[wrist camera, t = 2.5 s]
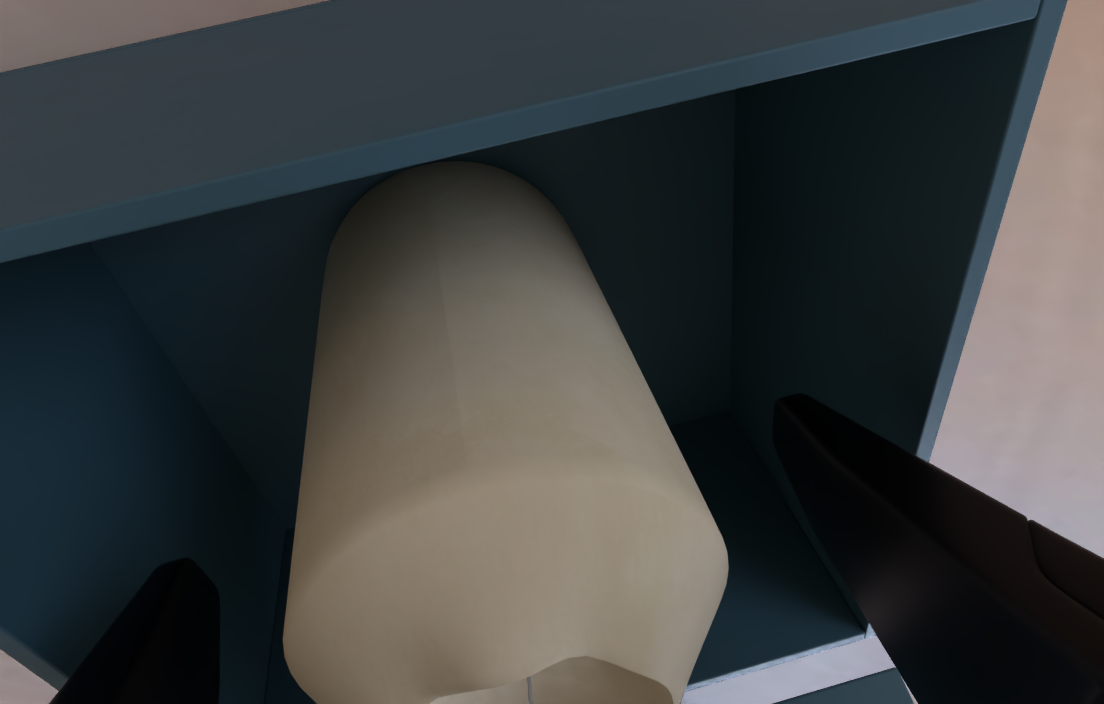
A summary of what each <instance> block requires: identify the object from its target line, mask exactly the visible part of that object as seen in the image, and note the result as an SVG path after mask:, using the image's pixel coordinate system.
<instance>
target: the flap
mask: <svg viewBox="0 0 1104 704" xmlns="http://www.w3.org/2000/svg"><path fill="white" fill-rule="evenodd" d="M773 704H914V703H913V701H912V698H911V696H910V694H909V692H908V690H907V688H906V686H905V684H904V682H903V680H902V677H901V675H900V673H899V671H898V670H897V668H891V669H887V670H884V671H881V672H877V673H874V674H871V675H867V676H864V677H861V678H857V679H854V680H850V681H847V682H844V683H840V684H837V685H834V686H830V687H827V688H824V689H820V690H817V691H813V692H810V693H807V694H803V695H800V696H797V697H793V698H790V699H787V700H783V701H780V702H776V703H773Z"/></svg>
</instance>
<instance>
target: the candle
mask: <svg viewBox="0 0 1104 704" xmlns="http://www.w3.org/2000/svg"><path fill="white" fill-rule="evenodd" d="M728 570H729V566H728V553H727V550H726V546H725V543H724V540H723V537H722V535H721V533H720V531H719V529H718V527H717V525H716V523H715V521H714V519H713V517H712V515H711V512H710V510H709V508H708V506H707V504H706V502H705V500H704V498H703V496H702V494H701V492H700V490H699V488H698V486H697V484H696V482H695V480H694V478H693V476H692V474H691V472H690V470H689V468H688V466H687V464H686V462H685V460H684V458H683V456H682V454H681V451H680V449H679V447H678V445H677V443H676V441H675V439H674V437H673V435H672V433H671V431H670V429H669V427H668V425H667V423H666V421H665V419H664V417H663V415H662V413H661V411H660V409H659V407H658V405H657V403H656V401H655V399H654V397H653V395H652V393H651V391H650V389H649V387H648V384H647V382H646V380H645V378H644V376H643V374H642V372H641V370H640V368H639V366H638V364H637V362H636V360H635V358H634V356H633V354H632V352H631V350H630V348H629V346H628V344H627V342H626V340H625V338H624V336H623V334H622V332H621V330H620V328H619V326H618V324H617V322H616V319H615V317H614V315H613V313H612V311H611V309H610V307H609V305H608V303H607V301H606V299H605V297H604V295H603V293H602V291H601V289H600V287H599V285H598V283H597V281H596V279H595V277H594V275H593V273H592V271H591V269H590V267H589V265H588V263H587V261H586V259H585V257H584V255H583V252H582V250H581V248H580V246H579V245H578V243H577V241H576V239H575V237H574V235H573V234H572V232H571V230H570V228H569V226H568V225H567V223H566V221H565V219H564V218H563V216H562V215H561V213H560V212H559V211H558V210H557V208H556V207H555V206H554V205H553V204H552V203H551V202H550V201H549V200H548V199H547V198H546V197H545V196H544V195H543V194H542V193H541V192H540V191H539V190H538V189H536V188H535V187H534V186H532V185H531V184H529V183H528V182H527V181H525V180H524V179H522V178H520V177H518V176H516V175H514V174H512V173H510V172H508V171H505V170H502V169H499V168H497V167H494V166H490V165H485V164H481V163H475V162H464V161H446V162H436V163H430V164H424V165H420V166H417V167H414V168H410V169H407V170H404V171H402V172H400V173H398V174H395V175H393V176H391V177H389V178H387V179H386V180H384V181H382V182H381V183H379V184H378V185H376V186H375V187H373V188H372V189H371V190H370V191H368V192H367V193H366V194H365V195H363V196H362V197H361V198H360V199H359V201H358V202H357V203H356V204H355V205H354V206H353V207H352V208H351V209H350V211H349V212H348V214H347V215H346V217H345V218H344V219H343V221H342V223H341V224H340V226H339V228H338V230H337V233H336V235H335V237H334V239H333V241H332V243H331V246H330V250H329V253H328V256H327V262H326V268H325V274H324V281H323V288H322V296H321V305H320V314H319V323H318V332H317V340H316V349H315V358H314V367H313V376H312V384H311V393H310V402H309V411H308V420H307V429H306V437H305V446H304V455H303V464H302V473H301V481H300V490H299V499H298V508H297V517H296V525H295V534H294V543H293V552H292V561H291V570H290V579H289V587H288V596H287V605H286V614H285V623H284V633H283V647H284V657H285V660H286V662H287V665H288V668H289V670H290V673H291V674H292V676H293V677H294V679H295V680H296V682H297V683H298V685H299V686H300V688H301V689H302V690H303V691H304V692H306V693H307V694H308V695H309V696H310V697H311V698H312V699H313V700H314V701H315V702H316V703H317V704H681V700H682V697H683V694H684V692H685V689H686V686H687V684H688V681H689V678H690V676H691V673H692V670H693V668H694V665H695V663H696V660H697V658H698V655H699V653H700V650H701V648H702V645H703V643H704V641H705V638H706V636H707V633H708V631H709V628H710V626H711V624H712V621H713V619H714V616H715V614H716V611H717V609H718V607H719V604H720V601H721V599H722V596H723V593H724V590H725V587H726V584H727V577H728Z"/></svg>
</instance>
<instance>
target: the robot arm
mask: <svg viewBox="0 0 1104 704" xmlns="http://www.w3.org/2000/svg"><path fill="white" fill-rule="evenodd" d="M772 439H773V444H774V447H775V449H776V452H777V454H778V456H779V458H780V460H781V463H782V465H783V467H784V469H785V471H786V473H787V475H788V478H789V480H790V482H791V484H792V486H793V488H794V491H795V493H796V495H797V497H798V499H799V501H800V503H801V506H802V508H803V510H804V512H805V514H806V516H807V519H808V521H809V523H810V525H811V527H812V529H813V531H814V533H815V535H816V536H817V538H818V540H819V542H820V543H821V545H822V547H823V549H824V550H825V552H826V553H827V555H828V557H829V558H830V560H831V562H832V563H833V565H834V567H835V568H836V570H837V571H838V573H839V575H840V576H841V578H842V580H843V581H844V583H845V585H846V586H847V588H848V589H849V591H850V593H851V594H852V596H853V598H854V599H855V601H856V603H857V604H858V606H859V607H860V609H861V611H862V612H863V614H864V616H865V617H866V619H867V621H868V622H869V624H870V625H871V627H872V629H873V630H874V632H875V634H876V635H877V637H878V639H879V640H880V642H881V643H882V645H883V647H884V648H885V650H886V652H887V653H888V655H889V657H890V658H891V660H892V661H893V663H894V665H895V666H896V668H897V670H898V671H899V673H900V675H901V676H902V678H903V679H904V681H905V683H906V684H907V686H908V688H909V689H910V691H911V693H912V694H913V696H914V697H915V699H916V701H917V702H918V704H1104V558H1102V557H1100V556H1098V555H1096V554H1094V553H1093V552H1091V551H1089V550H1087V549H1085V548H1083V547H1081V546H1079V545H1077V544H1076V543H1074V542H1072V541H1070V540H1068V539H1066V538H1064V537H1062V536H1060V535H1059V534H1057V533H1055V532H1053V531H1051V530H1050V529H1048V528H1046V527H1044V526H1042V525H1041V524H1039V523H1037V522H1035V521H1033V520H1028V521H1027V518H1026V517H1025V516H1024V515H1022V514H1020V513H1019V512H1017V511H1015V510H1013V509H1011V508H1010V507H1008V506H1006V505H1004V504H1002V503H1001V502H999V501H997V500H995V499H993V498H992V497H990V496H988V495H986V494H984V493H983V492H981V491H979V490H977V489H975V488H974V487H972V486H970V485H968V484H966V483H965V482H963V481H961V480H959V479H957V478H956V477H954V476H952V475H950V474H948V473H947V472H945V471H943V470H941V469H939V468H938V467H936V466H934V465H932V464H930V463H929V462H927V461H925V460H923V459H921V458H920V457H918V456H916V455H914V454H912V453H911V452H909V451H907V450H905V449H903V448H902V447H900V446H898V445H896V444H894V443H893V442H891V441H889V440H887V439H885V438H884V437H882V436H880V435H878V434H876V433H875V432H873V431H871V430H869V429H867V428H866V427H864V426H862V425H860V424H858V423H857V422H855V421H853V420H851V419H849V418H848V417H846V416H844V415H842V414H840V413H839V412H837V411H835V410H833V409H831V408H830V407H828V406H826V405H824V404H822V403H821V402H819V401H817V400H815V399H813V398H812V397H810V396H808V395H806V394H803V393H796V394H792V395H789V396H785V397H781V398H779V399H777V400H776V402H775V405H774V415H773V429H772ZM219 691H220V595H219V592H218V589H217V587H216V585H215V584H214V583H213V582H212V581H211V579H210V578H209V577H208V576H207V575H206V574H205V573H204V571H203V570H202V569H201V568H200V567H199V566H198V564H197V563H196V562H195V561H194V560H193V559H190V558H188V557H186V558H181V559H177V560H173V561H169V562H166V563H163V564H161V565H159V566H158V567H157V568H156V569H155V570H154V571H153V572H152V573H151V575H150V576H149V577H148V578H147V580H146V581H145V582H144V583H143V585H142V586H141V587H140V589H139V590H138V591H137V592H136V594H135V595H134V596H133V597H132V599H131V600H130V601H129V603H128V604H127V605H126V606H125V608H124V609H123V610H122V611H121V613H120V614H119V615H118V617H117V618H116V619H115V620H114V622H113V623H112V624H111V625H110V627H109V628H108V629H107V631H106V632H105V633H104V634H103V636H102V637H101V638H100V639H99V641H98V642H97V643H96V645H95V646H94V647H93V648H92V650H91V651H90V652H89V653H88V655H87V656H86V657H85V659H84V660H83V661H82V662H81V664H80V665H79V666H78V667H77V669H76V670H75V671H74V673H73V674H72V675H71V676H70V678H69V679H68V680H67V681H66V683H65V684H64V685H63V687H62V688H61V689H60V690H59V692H58V693H57V694H56V695H55V697H54V698H53V699H52V701H51V702H50V703H49V704H219Z"/></svg>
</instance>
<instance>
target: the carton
mask: <svg viewBox="0 0 1104 704" xmlns="http://www.w3.org/2000/svg"><path fill="white" fill-rule="evenodd" d="M1066 3H1067V0H330V1H325V2H320V3H316V4H311V5H307V6H302V7H298V8H293V9H289V10H284V11H279V12H275V13H270V14H266V15H261V16H257V17H252V18H248V19H243V20H238V21H234V22H229V23H225V24H220V25H216V26H211V27H207V28H202V29H197V30H193V31H188V32H184V33H179V34H175V35H170V36H166V37H161V38H156V39H152V40H147V41H143V42H138V43H134V44H129V45H125V46H120V47H115V48H111V49H106V50H102V51H97V52H93V53H88V54H84V55H79V56H74V57H70V58H65V59H61V60H56V61H52V62H47V63H43V64H38V65H33V66H29V67H24V68H20V69H15V70H11V71H6V72H2V73H0V649H1V650H3V651H4V652H5V653H7V654H8V655H10V656H11V657H12V658H14V659H15V660H17V661H18V662H19V663H21V664H22V665H24V666H25V667H26V668H28V669H29V670H30V671H32V672H33V673H35V674H36V675H37V676H39V677H40V678H42V679H43V680H44V681H46V682H47V683H49V684H50V685H51V686H53V687H54V688H56V689H57V690H58V691H59V690H60V689H61V688H62V687H63V685H64V684H65V683H66V681H67V680H68V679H69V678H70V676H71V675H72V674H73V673H74V671H75V670H76V669H77V667H78V666H79V665H80V664H81V662H82V661H83V660H84V659H85V657H86V656H87V655H88V653H89V652H90V651H91V650H92V648H93V647H94V646H95V645H96V643H97V642H98V641H99V639H100V638H101V637H102V636H103V634H104V633H105V632H106V631H107V629H108V628H109V627H110V625H111V624H112V623H113V622H114V620H115V619H116V618H117V617H118V615H119V614H120V613H121V611H122V610H123V609H124V608H125V606H126V605H127V604H128V603H129V601H130V600H131V599H132V597H133V596H134V595H135V594H136V592H137V591H138V590H139V589H140V587H141V586H142V585H143V583H144V582H145V581H146V580H147V578H148V577H149V576H150V575H151V573H152V572H153V571H154V570H155V569H156V568H157V567H158V566H159V565H161V564H163V563H166V562H169V561H173V560H177V559H181V558H186V557H188V558H190V559H193V560H194V561H195V562H196V563H197V564H198V566H199V567H200V568H201V569H202V570H203V571H204V573H205V574H206V575H207V576H208V577H209V578H210V579H211V581H212V582H213V583H214V584H215V585H216V587H217V589H218V592H219V595H220V691H219V704H317V703H316V702H315V701H314V700H313V699H312V698H311V697H310V696H309V695H308V694H307V693H306V692H304V691H303V690H302V689H301V688H300V686H299V685H298V683H297V682H296V680H295V679H294V677H293V676H292V674H291V673H290V670H289V668H288V665H287V662H286V660H285V657H284V647H283V633H284V623H285V614H286V605H287V596H288V587H289V579H290V570H291V561H292V552H293V543H294V534H295V525H296V517H297V508H298V499H299V490H300V481H301V473H302V464H303V455H304V446H305V437H306V429H307V420H308V411H309V402H310V393H311V384H312V376H313V367H314V358H315V349H316V340H317V332H318V323H319V314H320V305H321V296H322V288H323V281H324V274H325V268H326V262H327V256H328V253H329V250H330V246H331V243H332V241H333V239H334V237H335V235H336V233H337V230H338V228H339V226H340V224H341V223H342V221H343V219H344V218H345V217H346V215H347V214H348V212H349V211H350V209H351V208H352V207H353V206H354V205H355V204H356V203H357V202H358V201H359V199H360V198H361V197H362V196H363V195H365V194H366V193H367V192H368V191H370V190H371V189H372V188H373V187H375V186H376V185H378V184H379V183H381V182H382V181H384V180H386V179H387V178H389V177H391V176H393V175H395V174H398V173H400V172H402V171H404V170H407V169H410V168H414V167H417V166H420V165H424V164H430V163H436V162H446V161H464V162H475V163H481V164H485V165H490V166H494V167H497V168H499V169H502V170H505V171H508V172H510V173H512V174H514V175H516V176H518V177H520V178H522V179H524V180H525V181H527V182H528V183H529V184H531V185H532V186H534V187H535V188H536V189H538V190H539V191H540V192H541V193H542V194H543V195H544V196H545V197H546V198H547V199H548V200H549V201H550V202H551V203H552V204H553V205H554V206H555V207H556V208H557V210H558V211H559V212H560V213H561V215H562V216H563V218H564V219H565V221H566V223H567V225H568V226H569V228H570V230H571V232H572V234H573V235H574V237H575V239H576V241H577V243H578V245H579V246H580V248H581V250H582V252H583V255H584V257H585V259H586V261H587V263H588V265H589V267H590V269H591V271H592V273H593V275H594V277H595V279H596V281H597V283H598V285H599V287H600V289H601V291H602V293H603V295H604V297H605V299H606V301H607V303H608V305H609V307H610V309H611V311H612V313H613V315H614V317H615V319H616V322H617V324H618V326H619V328H620V330H621V332H622V334H623V336H624V338H625V340H626V342H627V344H628V346H629V348H630V350H631V352H632V354H633V356H634V358H635V360H636V362H637V364H638V366H639V368H640V370H641V372H642V374H643V376H644V378H645V380H646V382H647V384H648V387H649V389H650V391H651V393H652V395H653V397H654V399H655V401H656V403H657V405H658V407H659V409H660V411H661V413H662V415H663V417H664V419H665V421H666V423H667V425H668V427H669V429H670V431H671V433H672V435H673V437H674V439H675V441H676V443H677V445H678V447H679V449H680V451H681V454H682V456H683V458H684V460H685V462H686V464H687V466H688V468H689V470H690V472H691V474H692V476H693V478H694V480H695V482H696V484H697V486H698V488H699V490H700V492H701V494H702V496H703V498H704V500H705V502H706V504H707V506H708V508H709V510H710V512H711V515H712V517H713V519H714V521H715V523H716V525H717V527H718V529H719V531H720V533H721V535H722V537H723V540H724V543H725V546H726V550H727V553H728V566H729V570H728V577H727V584H726V587H725V590H724V593H723V596H722V599H721V601H720V604H719V607H718V609H717V611H716V614H715V616H714V619H713V621H712V624H711V626H710V628H709V631H708V633H707V636H706V638H705V641H704V643H703V645H702V648H701V650H700V653H699V655H698V658H697V660H696V663H695V665H694V668H693V670H692V673H691V676H690V678H689V681H688V684H687V686H686V689H685V692H686V691H689V690H693V689H696V688H699V687H703V686H706V685H710V684H713V683H717V682H720V681H723V680H727V679H730V678H734V677H737V676H740V675H744V674H747V673H751V672H754V671H757V670H761V669H764V668H768V667H771V666H774V665H778V664H781V663H785V662H788V661H791V660H795V659H798V658H802V657H805V656H808V655H812V654H815V653H819V652H822V651H826V650H829V649H832V648H836V647H839V646H843V645H846V644H849V643H853V642H856V641H860V640H863V639H866V638H870V637H873V636H876V634H875V632H874V630H873V629H872V627H871V625H870V624H869V622H868V621H867V619H866V617H865V616H864V614H863V612H862V611H861V609H860V607H859V606H858V604H857V603H856V601H855V599H854V598H853V596H852V594H851V593H850V591H849V589H848V588H847V586H846V585H845V583H844V581H843V580H842V578H841V576H840V575H839V573H838V571H837V570H836V568H835V567H834V565H833V563H832V562H831V560H830V558H829V557H828V555H827V553H826V552H825V550H824V549H823V547H822V545H821V543H820V542H819V540H818V538H817V536H816V535H815V533H814V531H813V529H812V527H811V525H810V523H809V521H808V519H807V516H806V514H805V512H804V510H803V508H802V506H801V503H800V501H799V499H798V497H797V495H796V493H795V491H794V488H793V486H792V484H791V482H790V480H789V478H788V475H787V473H786V471H785V469H784V467H783V465H782V463H781V460H780V458H779V456H778V454H777V452H776V449H775V447H774V444H773V439H772V429H773V415H774V405H775V402H776V400H777V399H779V398H781V397H785V396H789V395H792V394H796V393H803V394H806V395H808V396H810V397H812V398H813V399H815V400H817V401H819V402H821V403H822V404H824V405H826V406H828V407H830V408H831V409H833V410H835V411H837V412H839V413H840V414H842V415H844V416H846V417H848V418H849V419H851V420H853V421H855V422H857V423H858V424H860V425H862V426H864V427H866V428H867V429H869V430H871V431H873V432H875V433H876V434H878V435H880V436H882V437H884V438H885V439H887V440H889V441H891V442H893V443H894V444H896V445H898V446H900V447H902V448H903V449H905V450H907V451H909V452H911V453H912V454H914V455H916V456H918V457H920V458H921V459H923V460H925V461H927V462H929V460H930V456H931V453H932V450H933V446H934V443H935V440H936V436H937V433H938V430H939V426H940V423H941V420H942V416H943V413H944V410H945V406H946V403H947V400H948V396H949V393H950V390H951V386H952V383H953V380H954V376H955V373H956V370H957V366H958V363H959V360H960V356H961V353H962V350H963V346H964V343H965V340H966V336H967V333H968V330H969V326H970V323H971V320H972V316H973V313H974V310H975V306H976V303H977V300H978V296H979V293H980V290H981V286H982V283H983V280H984V276H985V273H986V270H987V266H988V263H989V260H990V256H991V253H992V250H993V246H994V243H995V240H996V236H997V233H998V230H999V227H1000V223H1001V220H1002V217H1003V213H1004V210H1005V207H1006V203H1007V200H1008V197H1009V193H1010V190H1011V187H1012V183H1013V180H1014V177H1015V173H1016V170H1017V167H1018V163H1019V160H1020V157H1021V153H1022V150H1023V147H1024V143H1025V140H1026V137H1027V133H1028V130H1029V127H1030V123H1031V120H1032V117H1033V113H1034V110H1035V107H1036V103H1037V100H1038V97H1039V93H1040V90H1041V87H1042V83H1043V80H1044V77H1045V73H1046V70H1047V67H1048V63H1049V60H1050V57H1051V53H1052V50H1053V47H1054V43H1055V40H1056V37H1057V33H1058V30H1059V27H1060V23H1061V20H1062V17H1063V13H1064V10H1065V7H1066Z"/></svg>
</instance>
